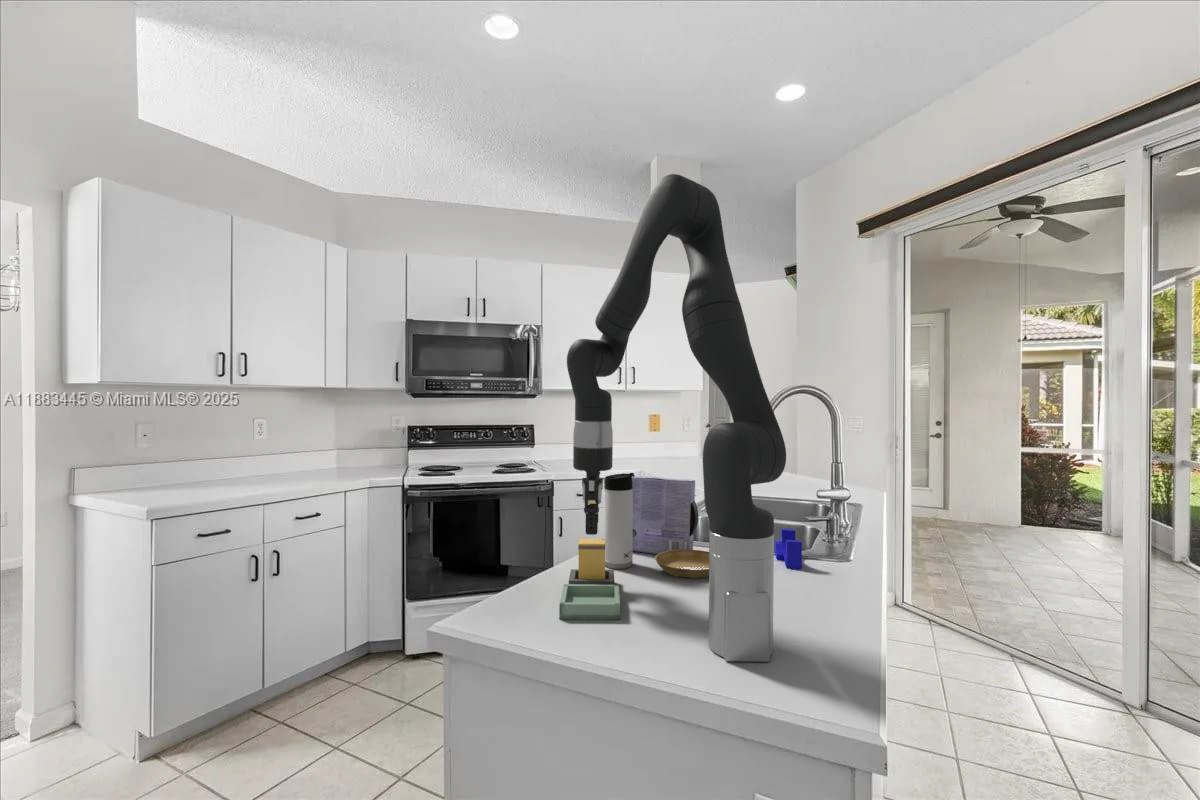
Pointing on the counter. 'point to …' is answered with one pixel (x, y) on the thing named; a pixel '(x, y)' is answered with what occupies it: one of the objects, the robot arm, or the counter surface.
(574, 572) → the frame
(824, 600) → the counter surface
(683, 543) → the cake pan box
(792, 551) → the cable clip
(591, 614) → the parts tray
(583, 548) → the block
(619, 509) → the travel mug
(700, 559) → the plant saucer
